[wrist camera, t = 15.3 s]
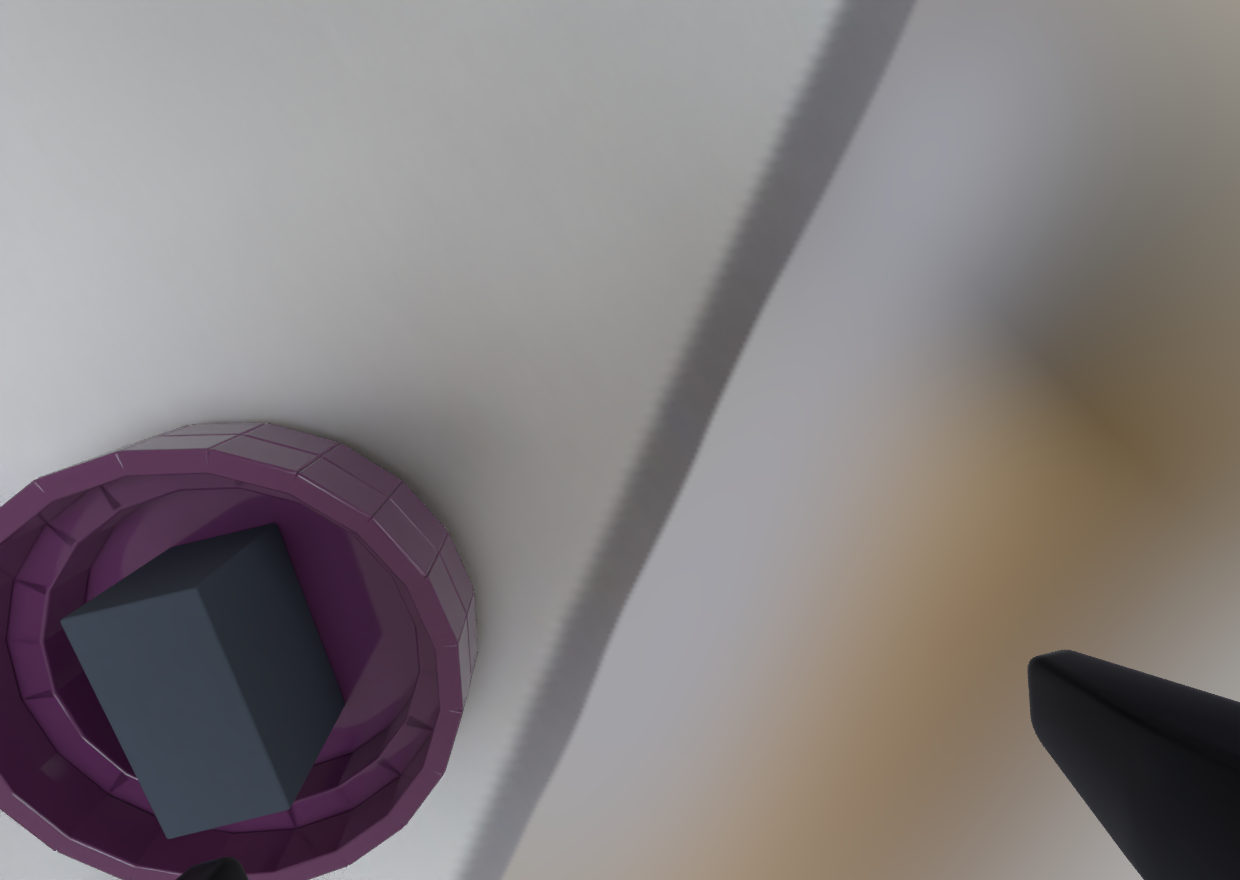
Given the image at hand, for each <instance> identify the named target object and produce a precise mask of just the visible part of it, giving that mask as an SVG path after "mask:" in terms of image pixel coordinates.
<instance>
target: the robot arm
mask: <svg viewBox="0 0 1240 880" xmlns="http://www.w3.org/2000/svg"><path fill="white" fill-rule="evenodd" d="M1028 686H1029V700H1030V715H1031V721H1032V725H1033V728H1034V730H1035V733H1036V735H1037V736H1038V738H1039V740H1040V742H1041V743H1042V745H1043V746H1044V747H1045V749H1046V750H1047V751H1048V753H1049V754H1050V755H1051V757H1052V758H1053V759H1054V760H1055V762H1056V763H1057V765H1058V766H1059V767H1060V769H1061V770H1062V771H1063V773H1064V774H1065V775H1066V777H1067V778H1068V779H1069V781H1070V782H1071V784H1072V785H1073V786H1074V788H1075V789H1076V790H1077V792H1078V793H1079V794H1080V796H1081V797H1082V798H1083V800H1084V801H1085V802H1086V804H1087V805H1088V806H1089V807H1090V809H1091V810H1092V812H1093V813H1094V814H1095V816H1096V817H1097V818H1098V820H1099V821H1100V822H1101V824H1102V825H1103V826H1104V828H1105V829H1106V831H1107V832H1108V833H1109V834H1110V836H1111V837H1112V839H1113V840H1114V841H1115V843H1116V844H1117V845H1118V847H1119V848H1120V849H1121V851H1122V852H1123V853H1124V855H1125V856H1126V857H1127V859H1128V860H1129V861H1130V862H1131V864H1132V865H1133V866H1134V868H1135V869H1136V870H1137V871H1138V873H1139V874H1140V875H1141V877H1142V878H1143V879H1144V880H1240V702H1237V701H1234V700H1231V699H1227V698H1224V697H1221V696H1218V695H1215V694H1211V693H1208V692H1205V691H1202V690H1198V689H1195V688H1191V687H1189V686H1185V685H1182V684H1179V683H1175V682H1172V681H1169V680H1166V679H1162V678H1159V677H1156V676H1153V675H1149V674H1146V673H1143V672H1140V671H1137V670H1133V669H1130V668H1127V667H1124V666H1120V665H1117V664H1114V663H1110V662H1107V661H1104V660H1101V659H1098V658H1095V657H1091V656H1088V655H1085V654H1082V653H1078V652H1075V651H1071V650H1059V651H1055V652H1051V653H1047V654H1043V655H1039V656H1036V657H1034V658H1032V659H1031V660H1030V662H1029V664H1028ZM176 880H249V879H248V877H247V875H246V873H245V871H244V868H243V866H242V864H241V863H240V861H238V860H237V859H236V858H234V857H223V858H219V859H215V860H211V861H207V862H203V863H199V864H197V865H194V866H192V867H191V868H189V869H188V870H187V871H185V872H184V873H183V874H182V875H181V876H180V877H178V878H177V879H176Z"/></svg>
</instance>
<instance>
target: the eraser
mask: <svg viewBox="0 0 1240 880" xmlns="http://www.w3.org/2000/svg"><path fill="white" fill-rule="evenodd" d="M60 622H61V625H62V627H63V629H64V631H65V633H66V635H67V637H68V639H69V641H70V643H71V645H72V647H73V649H74V651H75V653H76V655H77V657H78V659H79V662H80V664H81V666H82V668H83V670H84V672H85V674H86V676H87V678H88V680H89V682H90V684H91V686H92V688H93V690H94V692H95V694H96V696H97V698H98V700H99V702H100V704H101V706H102V708H103V710H104V712H105V714H106V716H107V718H108V720H109V722H110V724H111V726H112V728H113V730H114V732H115V734H116V736H117V739H118V741H119V743H120V745H121V747H122V749H123V751H124V753H125V755H126V757H127V759H128V761H129V763H130V765H131V767H132V769H133V771H134V773H135V775H136V777H137V779H138V781H139V783H140V785H141V787H142V789H143V791H144V793H145V795H146V797H147V799H148V801H149V803H150V805H151V807H152V809H153V811H154V813H155V816H156V818H157V820H158V822H159V824H160V826H161V828H162V830H163V832H164V834H165V836H166V838H167V839H172V838H176V837H180V836H184V835H188V834H192V833H196V832H200V831H204V830H208V829H213V828H217V827H221V826H225V825H229V824H233V823H237V822H241V821H245V820H249V819H253V818H257V817H261V816H265V815H269V814H273V813H277V812H281V811H286V810H288V809H290V808H291V806H292V804H293V802H294V800H295V799H296V797H297V795H298V793H299V791H300V789H301V787H302V785H303V784H304V782H305V780H306V778H307V776H308V774H309V772H310V770H311V768H312V767H313V765H314V763H315V761H316V759H317V757H318V755H319V753H320V751H321V750H322V748H323V746H324V744H325V742H326V740H327V738H328V736H329V735H330V733H331V731H332V729H333V727H334V725H335V723H336V721H337V719H338V718H339V716H340V714H341V712H342V710H343V708H344V706H345V702H344V699H343V697H342V694H341V691H340V689H339V686H338V684H337V681H336V678H335V676H334V673H333V670H332V668H331V665H330V663H329V660H328V657H327V655H326V652H325V649H324V647H323V644H322V642H321V639H320V636H319V634H318V631H317V628H316V626H315V623H314V621H313V618H312V615H311V613H310V610H309V608H308V605H307V602H306V600H305V597H304V594H303V592H302V589H301V587H300V584H299V581H298V579H297V576H296V573H295V571H294V568H293V566H292V563H291V560H290V558H289V555H288V552H287V550H286V547H285V545H284V542H283V539H282V537H281V534H280V531H279V529H278V526H277V524H276V523H272V524H268V525H264V526H259V527H255V528H251V529H247V530H242V531H238V532H234V533H230V534H225V535H221V536H217V537H213V538H208V539H204V540H200V541H195V542H191V543H187V544H183V545H178V546H174V547H170V548H169V549H167V550H166V551H164V552H163V553H161V554H160V555H158V556H157V557H155V558H154V559H152V560H151V561H149V562H148V563H146V564H145V565H143V566H142V567H140V568H139V569H137V570H136V571H134V572H133V573H131V574H129V575H128V576H126V577H125V578H123V579H122V580H120V581H119V582H117V583H116V584H114V585H113V586H111V587H110V588H108V589H107V590H105V591H104V592H102V593H101V594H99V595H98V596H96V597H95V598H93V599H92V600H90V601H88V602H87V603H85V604H84V605H82V606H81V607H79V608H78V609H76V610H75V611H73V612H72V613H70V614H69V615H67V616H66V617H64V618H63V619H61V621H60Z"/></svg>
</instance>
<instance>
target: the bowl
mask: <svg viewBox="0 0 1240 880" xmlns="http://www.w3.org/2000/svg"><path fill="white" fill-rule="evenodd" d="M272 523H276V524H277V526H278V529H279V531H280V534H281V537H282V539H283V542H284V545H285V547H286V550H287V552H288V555H289V558H290V560H291V563H292V566H293V568H294V571H295V573H296V576H297V579H298V581H299V584H300V587H301V589H302V592H303V594H304V597H305V600H306V602H307V605H308V608H309V610H310V613H311V615H312V618H313V621H314V623H315V626H316V628H317V631H318V634H319V636H320V639H321V642H322V644H323V647H324V649H325V652H326V655H327V657H328V660H329V663H330V665H331V668H332V670H333V673H334V676H335V678H336V681H337V684H338V686H339V689H340V691H341V694H342V697H343V699H344V702H345V706H344V708H343V710H342V712H341V714H340V716H339V718H338V719H337V721H336V723H335V725H334V727H333V729H332V731H331V733H330V735H329V736H328V738H327V740H326V742H325V744H324V746H323V748H322V750H321V751H320V753H319V755H318V757H317V759H316V761H315V763H314V765H313V767H312V768H311V770H310V772H309V774H308V776H307V778H306V780H305V782H304V784H303V785H302V787H301V789H300V791H299V793H298V795H297V797H296V799H295V800H294V802H293V804H292V806H291V808H290V809H288V810H286V811H281V812H277V813H273V814H269V815H265V816H261V817H257V818H253V819H249V820H245V821H241V822H237V823H233V824H229V825H225V826H221V827H217V828H213V829H208V830H204V831H200V832H196V833H192V834H188V835H184V836H180V837H176V838H172V839H167V838H166V836H165V834H164V832H163V830H162V828H161V826H160V824H159V822H158V820H157V818H156V816H155V813H154V811H153V809H152V807H151V805H150V803H149V801H148V799H147V797H146V795H145V793H144V791H143V789H142V787H141V785H140V783H139V781H138V779H137V777H136V775H135V773H134V771H133V769H132V767H131V765H130V763H129V761H128V759H127V757H126V755H125V753H124V751H123V749H122V747H121V745H120V743H119V741H118V739H117V736H116V734H115V732H114V730H113V728H112V726H111V724H110V722H109V720H108V718H107V716H106V714H105V712H104V710H103V708H102V706H101V704H100V702H99V700H98V698H97V696H96V694H95V692H94V690H93V688H92V686H91V684H90V682H89V680H88V678H87V676H86V674H85V672H84V670H83V668H82V666H81V664H80V662H79V659H78V657H77V655H76V653H75V651H74V649H73V647H72V645H71V643H70V641H69V639H68V637H67V635H66V633H65V631H64V629H63V627H62V625H61V622H60V621H61V619H63V618H64V617H66V616H67V615H69V614H70V613H72V612H73V611H75V610H76V609H78V608H79V607H81V606H82V605H84V604H85V603H87V602H88V601H90V600H92V599H93V598H95V597H96V596H98V595H99V594H101V593H102V592H104V591H105V590H107V589H108V588H110V587H111V586H113V585H114V584H116V583H117V582H119V581H120V580H122V579H123V578H125V577H126V576H128V575H129V574H131V573H133V572H134V571H136V570H137V569H139V568H140V567H142V566H143V565H145V564H146V563H148V562H149V561H151V560H152V559H154V558H155V557H157V556H158V555H160V554H161V553H163V552H164V551H166V550H167V549H169V548H170V547H174V546H178V545H183V544H187V543H191V542H195V541H200V540H204V539H208V538H213V537H217V536H221V535H225V534H230V533H234V532H238V531H242V530H247V529H251V528H255V527H259V526H264V525H268V524H272ZM473 591H474V589H473V587H472V584H471V582H470V580H469V577H468V575H467V573H466V571H465V568H464V566H463V564H462V561H461V559H460V557H459V554H458V552H457V550H456V547H455V545H454V543H453V540H452V538H451V536H450V534H449V533H448V531H447V530H446V529H445V527H444V526H443V525H442V524H441V523H440V522H439V521H438V520H437V518H436V517H435V516H434V515H433V514H432V513H431V512H430V510H429V509H428V508H427V507H426V506H425V505H424V504H423V503H422V501H421V500H420V499H419V498H418V497H417V496H416V495H415V494H414V492H413V491H412V490H411V489H410V488H409V487H408V486H407V485H406V483H405V482H402V480H401V479H399V478H398V477H396V476H394V475H393V474H391V473H389V472H388V471H386V470H385V469H383V468H381V467H380V466H378V465H376V464H375V463H373V462H371V461H370V460H368V459H367V458H365V457H363V456H362V455H360V454H358V453H357V452H355V451H354V450H352V449H350V448H349V447H347V446H345V445H344V444H342V443H340V444H339V443H338V442H336V441H332V440H329V439H325V438H321V437H318V436H314V435H310V434H307V433H303V432H299V431H296V430H292V429H288V428H285V427H281V426H277V425H274V424H270V423H268V424H265V423H223V424H192V425H186V426H183V427H180V428H177V429H174V430H171V431H168V432H166V433H163V434H160V435H157V436H154V437H151V438H148V439H145V440H142V441H139V442H136V443H133V444H131V445H128V446H125V447H122V448H119V449H116V450H114V451H111V452H108V453H105V454H103V455H100V456H97V457H94V458H91V459H89V460H86V461H83V462H81V463H78V464H75V465H72V466H69V467H67V468H64V469H61V470H58V471H56V472H53V473H50V474H47V475H45V476H42V477H39V478H38V479H36V480H33V481H32V482H31V483H30V484H28V485H27V486H26V487H25V488H23V489H22V490H21V491H20V492H18V493H17V494H16V495H15V496H13V497H12V498H11V499H10V500H8V501H7V502H6V503H5V504H3V505H2V506H1V507H0V809H1V810H2V811H3V812H5V813H6V814H7V815H8V816H10V817H11V818H12V819H14V820H15V821H16V822H17V823H19V824H20V825H21V826H23V827H24V828H25V829H27V830H28V831H29V832H30V833H32V834H33V835H34V836H36V837H37V838H38V839H39V840H41V841H42V842H43V843H45V844H46V845H47V846H48V847H50V848H51V849H52V850H54V851H56V850H57V852H58V853H61V854H63V855H65V856H68V857H70V858H72V859H75V860H77V861H79V862H82V863H84V864H86V865H89V866H91V867H94V868H96V869H98V870H101V871H103V872H105V873H108V874H110V875H112V876H115V877H117V878H119V879H122V880H176V879H177V878H178V877H180V876H181V875H182V874H183V873H184V872H185V871H187V870H188V869H189V868H191V867H192V866H194V865H197V864H199V863H203V862H207V861H211V860H215V859H219V858H223V857H234V858H236V859H237V860H238V861H240V863H241V864H242V866H243V868H244V871H245V873H246V875H247V877H248V879H249V880H309V879H312V878H315V877H318V876H321V875H324V874H327V873H330V872H333V871H336V870H338V869H341V868H344V867H347V866H348V865H351V864H352V863H354V862H355V861H357V860H358V859H359V858H361V857H362V856H364V855H365V854H367V853H368V852H369V851H371V850H372V849H374V848H375V847H377V846H378V845H379V844H381V843H382V842H384V841H385V840H386V839H388V838H389V837H391V836H392V835H394V834H395V833H396V832H398V831H399V830H401V829H402V828H403V827H404V826H405V825H406V824H407V823H408V822H409V821H410V819H411V818H412V816H413V815H414V814H415V812H416V811H417V810H418V808H419V807H420V806H421V804H422V803H423V802H424V800H425V799H426V798H427V796H428V795H429V794H430V792H431V791H432V790H433V788H434V787H435V786H436V784H437V783H438V782H439V780H440V779H441V778H442V776H443V775H444V773H445V771H446V768H447V764H448V761H449V757H450V754H451V751H452V747H453V744H454V741H455V737H456V734H457V731H458V727H459V724H460V720H461V717H462V714H463V710H464V706H465V702H466V698H467V694H468V690H469V685H470V681H471V678H472V673H473V669H474V665H475V661H476V657H477V653H478V642H477V627H476V612H475V597H474V593H473Z"/></svg>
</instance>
